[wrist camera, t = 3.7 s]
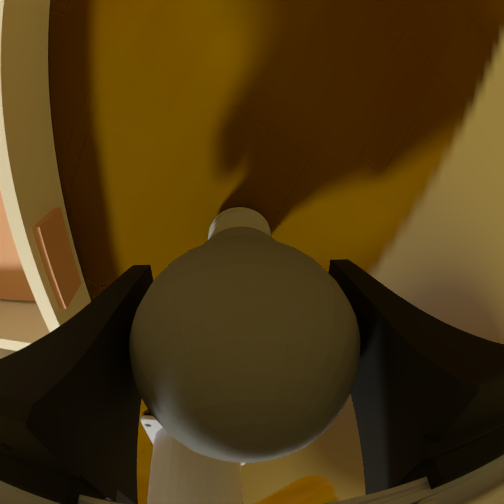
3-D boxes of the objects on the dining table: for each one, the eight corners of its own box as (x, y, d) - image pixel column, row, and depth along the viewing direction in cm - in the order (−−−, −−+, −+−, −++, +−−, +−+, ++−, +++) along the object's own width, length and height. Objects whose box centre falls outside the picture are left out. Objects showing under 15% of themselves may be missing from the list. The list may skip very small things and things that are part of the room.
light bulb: (317, 171, 13) (446, 359, 4) (293, 287, 16) (339, 481, 7) (172, 159, 12) (63, 351, 4) (173, 280, 15) (135, 480, 7)
